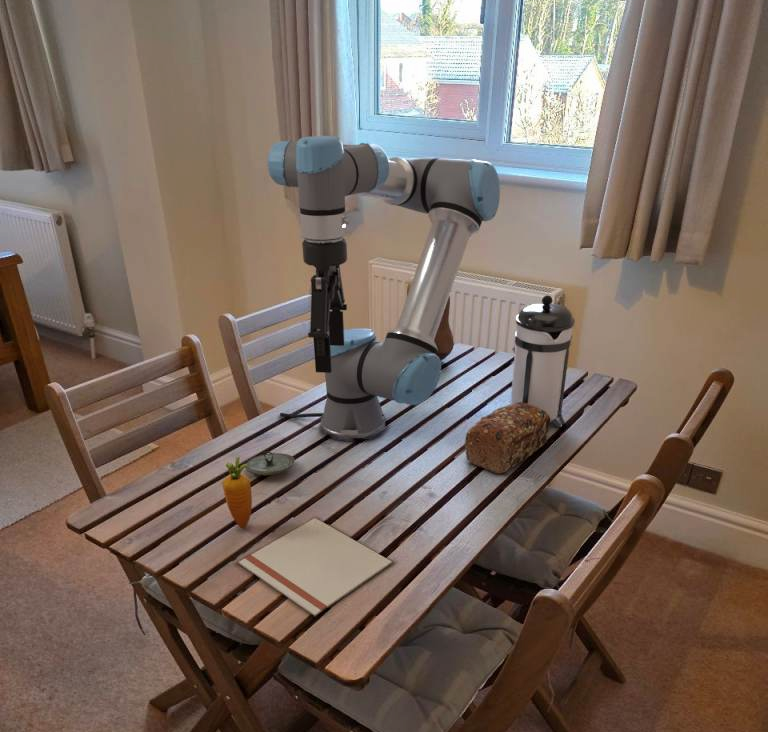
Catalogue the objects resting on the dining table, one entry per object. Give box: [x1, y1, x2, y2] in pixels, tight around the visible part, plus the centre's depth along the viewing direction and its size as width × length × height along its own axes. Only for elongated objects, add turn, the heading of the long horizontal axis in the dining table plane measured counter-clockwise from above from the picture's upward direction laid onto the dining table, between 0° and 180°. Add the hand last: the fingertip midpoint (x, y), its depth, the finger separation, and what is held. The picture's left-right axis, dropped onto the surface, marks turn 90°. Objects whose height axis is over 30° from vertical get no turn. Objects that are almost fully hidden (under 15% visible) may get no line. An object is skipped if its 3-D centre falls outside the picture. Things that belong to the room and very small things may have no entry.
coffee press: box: [509, 294, 576, 428], centre depth 160 cm, size 17×16×30 cm
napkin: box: [238, 517, 393, 617], centre depth 121 cm, size 20×18×1 cm
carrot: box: [222, 456, 253, 530], centre depth 126 cm, size 5×5×15 cm
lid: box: [244, 450, 296, 476], centre depth 147 cm, size 11×10×5 cm
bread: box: [464, 402, 551, 474], centre depth 150 cm, size 19×11×10 cm, turn 137°
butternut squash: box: [406, 275, 454, 362], centre depth 191 cm, size 14×13×25 cm
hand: (330, 357), depth 128 cm, fingers open, 13 cm apart
